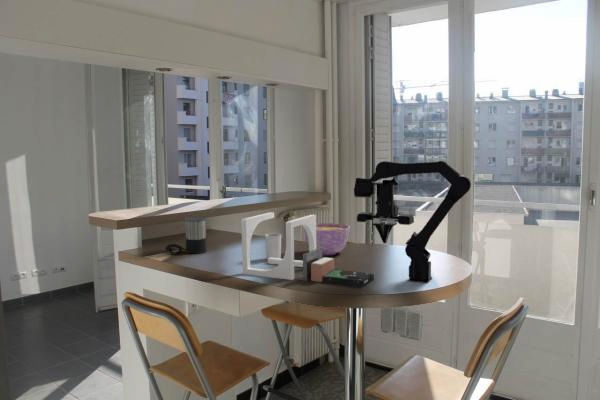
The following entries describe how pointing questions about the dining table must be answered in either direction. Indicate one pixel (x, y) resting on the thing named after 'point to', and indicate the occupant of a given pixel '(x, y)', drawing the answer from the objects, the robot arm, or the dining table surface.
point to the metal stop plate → (309, 263)
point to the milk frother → (192, 237)
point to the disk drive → (348, 278)
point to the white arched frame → (287, 263)
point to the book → (321, 268)
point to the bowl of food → (330, 237)
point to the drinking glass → (273, 245)
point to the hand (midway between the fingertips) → (384, 243)
